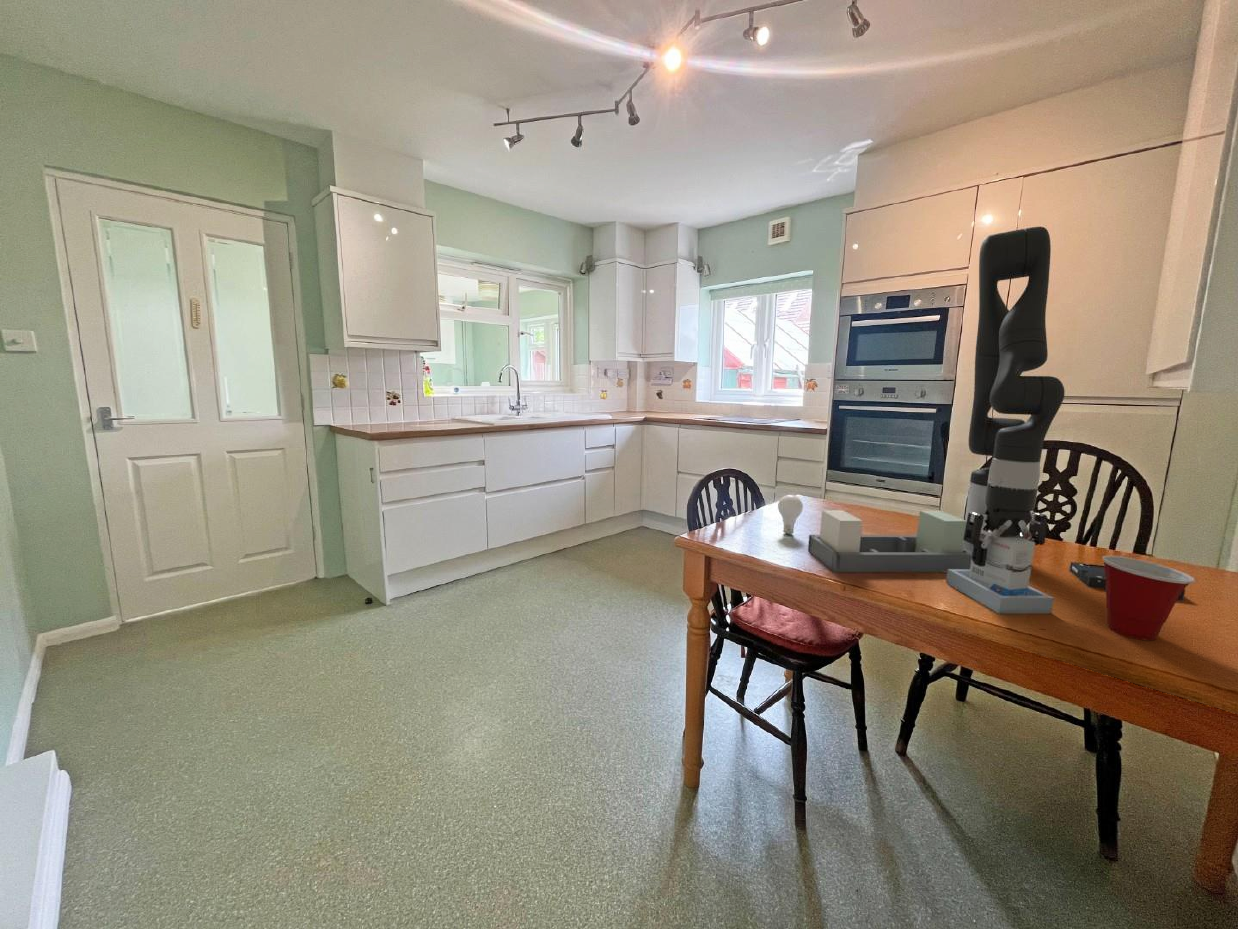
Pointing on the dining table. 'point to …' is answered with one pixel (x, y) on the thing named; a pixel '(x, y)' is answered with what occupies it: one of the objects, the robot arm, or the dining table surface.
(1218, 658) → the dining table surface
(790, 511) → the lightbulb
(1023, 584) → the ink box
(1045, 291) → the robot arm
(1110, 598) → the plastic cup
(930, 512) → the sage block
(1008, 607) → the tray
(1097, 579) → the disk drive
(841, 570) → the holder
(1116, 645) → the dining table surface
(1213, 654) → the dining table surface
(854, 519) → the cream block
